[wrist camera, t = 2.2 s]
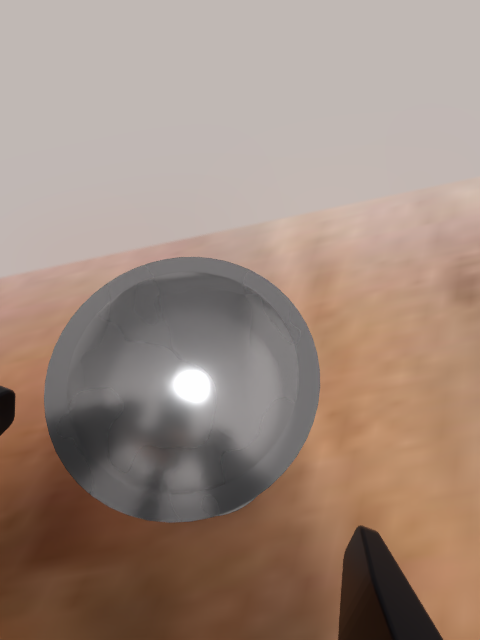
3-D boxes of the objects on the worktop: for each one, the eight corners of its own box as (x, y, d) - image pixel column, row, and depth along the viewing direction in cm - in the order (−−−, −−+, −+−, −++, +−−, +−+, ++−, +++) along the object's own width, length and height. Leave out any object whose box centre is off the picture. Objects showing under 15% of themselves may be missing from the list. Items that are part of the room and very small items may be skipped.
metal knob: (293, 484, 17) (395, 457, 6) (175, 536, 16) (52, 614, 5) (247, 374, 19) (263, 218, 9) (142, 413, 18) (11, 292, 7)
